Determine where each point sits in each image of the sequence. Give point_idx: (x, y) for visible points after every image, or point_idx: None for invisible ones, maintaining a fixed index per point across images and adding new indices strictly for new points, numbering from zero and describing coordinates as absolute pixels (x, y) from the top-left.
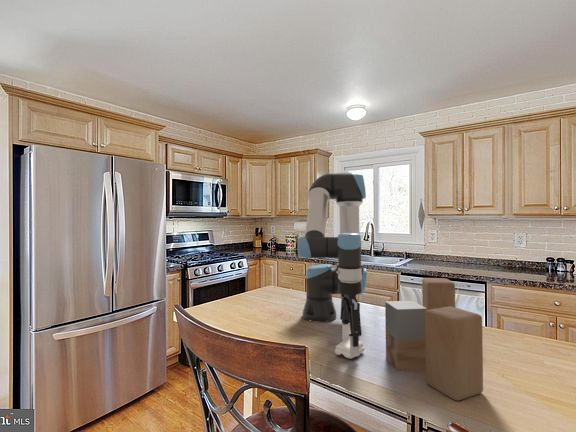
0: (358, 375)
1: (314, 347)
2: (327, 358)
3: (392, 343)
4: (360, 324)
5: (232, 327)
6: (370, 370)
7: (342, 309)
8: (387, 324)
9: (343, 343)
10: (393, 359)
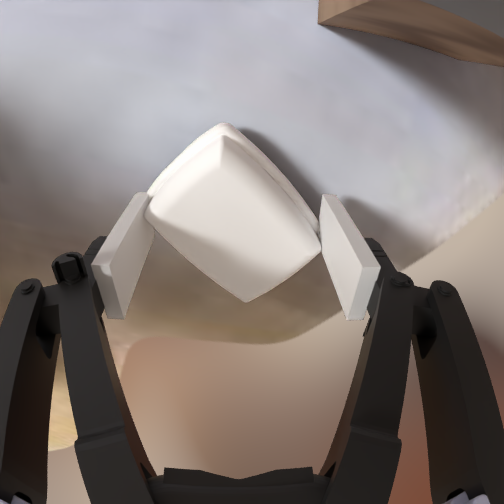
0: (437, 232)
1: (147, 328)
2: (265, 306)
3: (488, 47)
4: (478, 347)
5: (55, 436)
6: (423, 169)
7: (47, 407)
8: (490, 3)
9: (241, 275)
10: (440, 46)
